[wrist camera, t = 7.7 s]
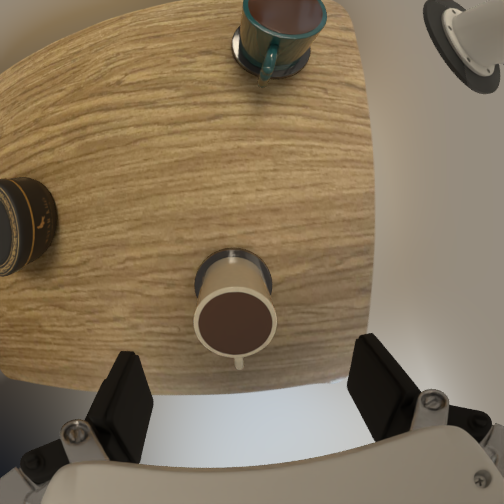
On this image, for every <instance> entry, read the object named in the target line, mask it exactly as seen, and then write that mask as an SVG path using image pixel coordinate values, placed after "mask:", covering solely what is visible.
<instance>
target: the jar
mask: <svg viewBox="0 0 504 504" xmlns="http://www.w3.org/2000/svg"><path fill="white" fill-rule="evenodd" d="M55 230H56V211H55V206H54V202H53V199H52V197H51V195H50V193H49V191H48V190H47V189H46V187H45V186H44V185H43V184H41V183H40V182H38V181H36V180H34V179H31V178H27V177H19V178H11V179H6V178H5V179H0V276H7V275H10V274H12V273H14V272H17V271H19V270H21V269H22V268H23V267H24V266H25V265H27V264H29V263H30V262H32V261H34V260H36V259H37V258H39V257H40V256H41V255H42V254H43V253H44V252H45V251H46V250H47V248H48V247H49V246H50V244H51V242H52V240H53V238H54V235H55Z"/></svg>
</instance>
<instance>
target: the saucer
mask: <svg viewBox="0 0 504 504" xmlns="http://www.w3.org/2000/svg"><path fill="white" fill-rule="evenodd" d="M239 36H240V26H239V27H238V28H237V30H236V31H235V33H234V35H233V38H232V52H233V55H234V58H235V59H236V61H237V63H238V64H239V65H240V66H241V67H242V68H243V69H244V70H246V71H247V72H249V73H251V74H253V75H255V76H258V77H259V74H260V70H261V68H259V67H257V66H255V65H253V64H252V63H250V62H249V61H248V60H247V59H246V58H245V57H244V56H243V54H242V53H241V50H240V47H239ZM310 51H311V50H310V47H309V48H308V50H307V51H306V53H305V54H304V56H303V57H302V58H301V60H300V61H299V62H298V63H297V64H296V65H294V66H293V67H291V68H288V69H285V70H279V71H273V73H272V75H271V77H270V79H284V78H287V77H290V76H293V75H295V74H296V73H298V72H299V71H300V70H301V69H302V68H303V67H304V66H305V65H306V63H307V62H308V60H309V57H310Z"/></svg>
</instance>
